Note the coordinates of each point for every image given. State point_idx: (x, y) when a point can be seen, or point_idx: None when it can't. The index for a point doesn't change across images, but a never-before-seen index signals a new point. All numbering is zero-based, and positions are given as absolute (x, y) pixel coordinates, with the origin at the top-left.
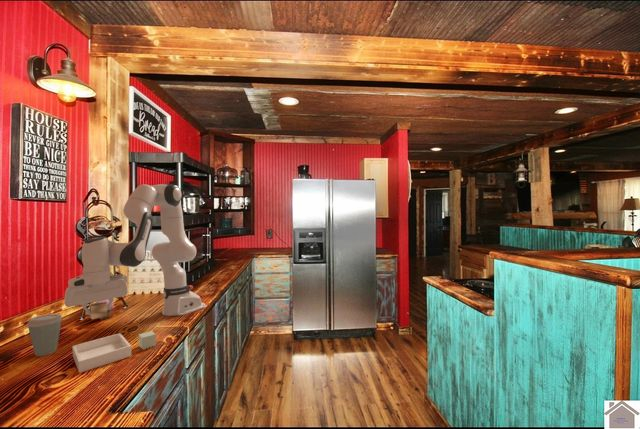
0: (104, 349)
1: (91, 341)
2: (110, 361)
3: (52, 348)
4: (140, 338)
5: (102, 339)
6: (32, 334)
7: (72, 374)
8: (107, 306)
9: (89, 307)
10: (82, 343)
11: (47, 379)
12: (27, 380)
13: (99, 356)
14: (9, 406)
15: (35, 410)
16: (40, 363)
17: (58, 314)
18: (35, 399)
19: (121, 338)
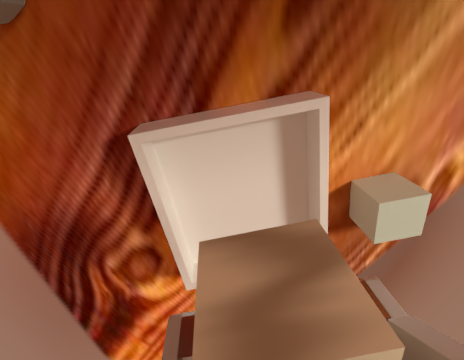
0: (249, 163)
1: (204, 130)
2: None
3: (8, 11)
4: (370, 218)
5: (248, 120)
6: None
7: (174, 261)
8: None
9: (196, 335)
10: (167, 131)
11: (117, 256)
12: (59, 236)
13: None
14: (85, 324)
15: (142, 349)
16: (31, 121)
17: None
18: (127, 322)
19: (318, 168)
